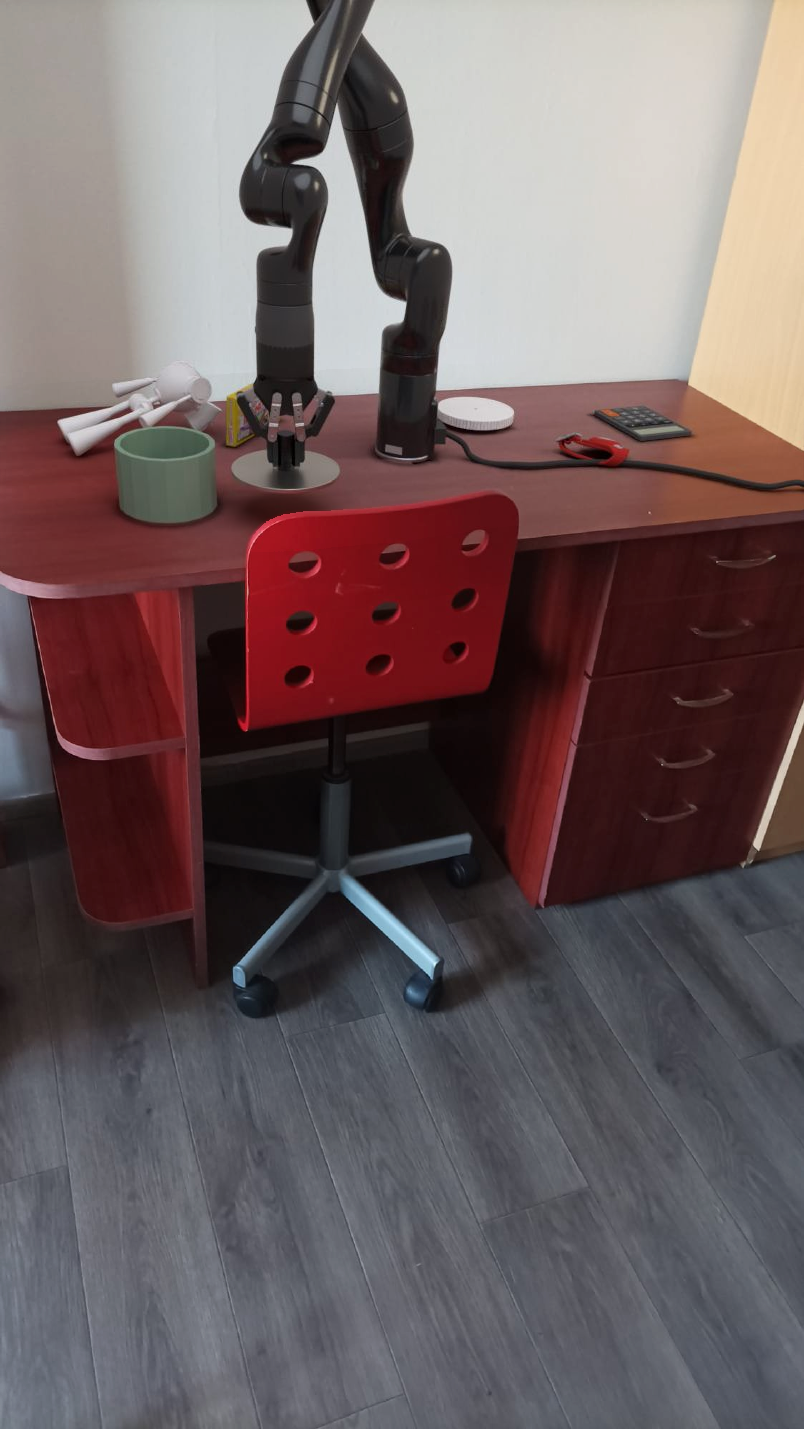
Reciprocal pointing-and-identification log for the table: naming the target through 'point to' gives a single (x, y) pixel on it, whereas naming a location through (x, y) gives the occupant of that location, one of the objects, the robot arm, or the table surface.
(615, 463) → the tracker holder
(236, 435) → the candy box
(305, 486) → the lid
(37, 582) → the table surface
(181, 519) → the tin
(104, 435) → the toy robot
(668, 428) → the calculator
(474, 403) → the plastic lid
